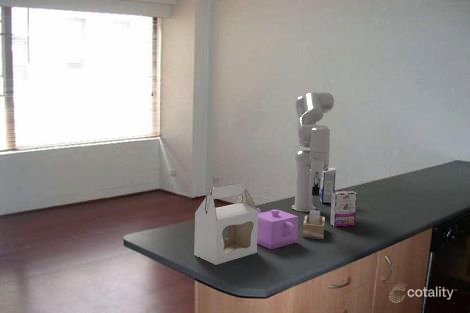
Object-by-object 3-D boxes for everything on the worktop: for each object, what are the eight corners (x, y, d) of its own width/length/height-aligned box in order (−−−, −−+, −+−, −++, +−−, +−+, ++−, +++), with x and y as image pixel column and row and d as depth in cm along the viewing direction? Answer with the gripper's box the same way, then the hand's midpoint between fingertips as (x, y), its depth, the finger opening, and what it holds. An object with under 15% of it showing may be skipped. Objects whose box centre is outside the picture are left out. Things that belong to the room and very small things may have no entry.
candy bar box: (350, 223, 252) (352, 190, 249) (355, 226, 247) (357, 192, 244) (329, 224, 249) (331, 191, 246) (334, 227, 244) (336, 193, 241)
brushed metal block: (309, 229, 237) (310, 210, 235) (318, 229, 236) (320, 210, 234) (308, 231, 232) (309, 212, 231) (318, 232, 231) (319, 213, 230)
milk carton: (333, 204, 287) (336, 169, 283) (321, 203, 287) (323, 168, 283) (331, 201, 294) (333, 166, 290) (319, 200, 294) (322, 166, 290)
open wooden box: (304, 227, 242) (305, 215, 241) (324, 229, 240) (324, 216, 239) (302, 237, 227) (303, 224, 226) (323, 239, 226) (324, 226, 225)
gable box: (235, 243, 216) (237, 178, 211) (257, 252, 207) (260, 184, 202) (193, 255, 201) (194, 185, 197) (215, 265, 192) (217, 192, 187)
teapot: (265, 230, 236) (266, 200, 233) (305, 246, 217) (307, 213, 214) (239, 236, 226) (241, 205, 224) (279, 253, 207) (280, 219, 205)
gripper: (310, 151, 237) (308, 187, 240) (308, 158, 220) (306, 197, 223) (327, 152, 236) (324, 188, 239) (326, 159, 219) (323, 198, 222)
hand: (315, 192), depth 231 cm, fingers open, 9 cm apart
